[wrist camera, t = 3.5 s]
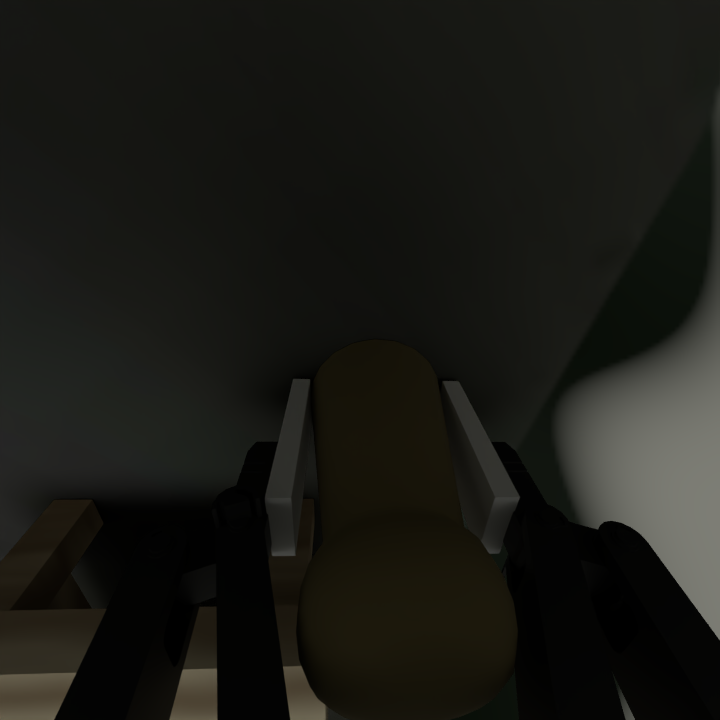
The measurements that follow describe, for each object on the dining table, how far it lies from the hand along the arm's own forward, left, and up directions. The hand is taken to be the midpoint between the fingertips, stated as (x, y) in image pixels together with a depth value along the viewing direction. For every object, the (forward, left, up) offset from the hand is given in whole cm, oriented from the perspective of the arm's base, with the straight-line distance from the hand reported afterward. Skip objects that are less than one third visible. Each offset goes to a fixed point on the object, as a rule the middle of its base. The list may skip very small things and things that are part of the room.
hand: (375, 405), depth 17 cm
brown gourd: (0, 0, 0) cm, 1 cm away
